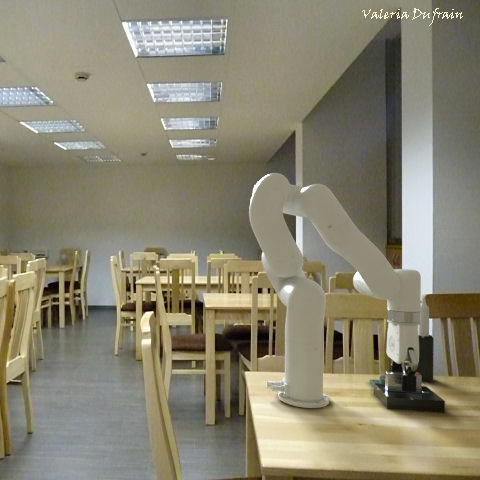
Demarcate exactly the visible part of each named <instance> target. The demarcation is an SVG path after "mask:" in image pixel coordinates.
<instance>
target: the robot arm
mask: <svg viewBox="0 0 480 480" xmlns="http://www.w3.org/2000/svg"><path fill="white" fill-rule="evenodd" d="M248 210H249V211H248V218H249V223H250V227H251V230H252V232H253V234H254V236H255V238H256V240H257V243H258V245H259V247H260V249H261V251H262V252H261V264H262V267H263V269H264V271H265V274H266V276H267V278H268V281H269V282H270V283H271V285H272V287H273V289H274V291H275V293H276V296H277V297H278V299H279V301H280V302H281V303H282V304H283V305H284V306H285V307H286V314H285V322H284V377H282V380H278V381H271V380H266V389H269V390H271V392H278V399H279V400H280V401H281V402H283V403H285V404H287V405H289V406H292V407H297V408H303V409H320V408H325V407H326V406H328V405H329V404H330V397H329V396H328V394H326V393H324V325H325V315H326V311H327V310H326V308H327V297H326V293H325V290H324V289H323V287H322V286H321V284H319V283H318V282H317V281H315V280H313V279H311V278H307V276H306V274H305V271H304V270H303V267H304V262H305V261H304V255H303V253H302V251H301V250H300V248H299V246H298V244H297V243H296V241H295V239H294V237H293V235H292V232H291V231H290V229H289V227H288V225H287V222H286V220H285V217H284V214H286V215H290V216H296V217H300V218H307V219H308V220H309V221H310V223H311V224H312V226H313V227H314V229H315V230H316V231H317V233H318V234H319V236H320V237H321V239H322V240H323V242H324V243H325V245H326V246H327V247H328V248H329V249H330V250H331V251H333V252H334V253H335V254H337V255H338V256H340V257H342V258H343V259H344V260H345V261H347V262H348V263H349V264H350V265H351V266H352V267H353V268H354V270H355V271H356V273H354V275H353V278H352V284H353V288H354V290H356V291H357V292H358V293H360V294H361V295H364V296H366V297H369V298H373V299H376V300H381V301H386V302H387V303H386V306H387V307H386V322H387V323H388V325H387V335H386V348H385V349H386V351H385V352H386V355H387V357H388V358H389V359H390V365H391V366H390V372H403V375H402V391H405V392H416V376H417V368H418V362H419V336H418V325H420V313H421V302H422V297H421V295H422V294H421V293H422V290H421V289H422V287H421V286H422V279H421V278H422V277H421V276H422V275H421V273H420V272H419V271H418V270H416V269H409V268H406V269H405V268H394V267H393V265H391V263H390V261H389V260H388V259H387V258H386V256H385V254H384V253H383V252H382V251H381V250H380V249H379V248H378V247H377V246H376V245H375V244H374V243H373V242H372V241H371V240H370V239H369V238H368V237H367V236H366V235H365V234H364V233H363V232H362V231H361V230H360V229H359V228H358V227H357V225H356V224H355V223H354V222H353V220H352V219H351V217H350V216H349V214H348V213H347V211H346V210H345V209H344V207H343V206H342V204H341V203H340V201H339V200H338V199H337V197H336V196H335V194H334V193H333V191H332V190H331V189H330V188H329V187H328V186H327V185H325V184H323V183H313V184H310V185H307V186H301V185H296V184H291V182H290V181H289V179H288V178H287V176H285V175H284V174H282V173H279V172H272V173H268V174H266V175H264V176H263V177H262V178H261V179H260V180H259V181H257V182H256V184H254V186H253V189H252V196H251V198H250V202H249V209H248Z"/></svg>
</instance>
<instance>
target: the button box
mask: <svg viewBox="0 0 480 480" xmlns="http://www.w3.org/2000/svg"><path fill="white" fill-rule="evenodd" d="M378 378H379V379H372V378H371V379H369V384H370V386H371V387H372V388H374V383H380V384H385V374H382V375H380V376H379V377H378Z"/></svg>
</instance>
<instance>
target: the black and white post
mask: <svg viewBox="0 0 480 480" xmlns="http://www.w3.org/2000/svg"><path fill="white" fill-rule="evenodd" d="M417 326H418V336H419V362H418V368H417V373H419V374H421V376H422V383H427V384H433V383H434V347H435V346H434V343H435V342H434V337H433V335H431V334H430V307H429V306H428V304H427V302H426V297H425V296H422V297H421V313H420V325H417Z"/></svg>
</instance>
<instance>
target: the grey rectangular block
mask: <svg viewBox="0 0 480 480" xmlns="http://www.w3.org/2000/svg"><path fill="white" fill-rule="evenodd" d="M384 375H385V389H386V390H387V391H394V392H405V391H402V375H403V372H391V371H385V374H384ZM422 383H423V382H422V376H421V374H419V373H417V376H416V392H409V393H422V386H423V385H422Z"/></svg>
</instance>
